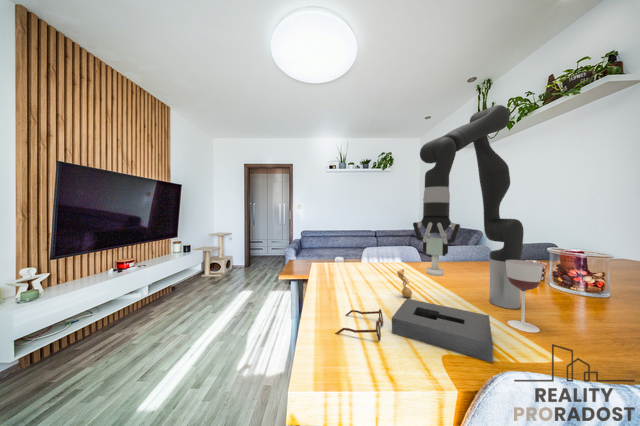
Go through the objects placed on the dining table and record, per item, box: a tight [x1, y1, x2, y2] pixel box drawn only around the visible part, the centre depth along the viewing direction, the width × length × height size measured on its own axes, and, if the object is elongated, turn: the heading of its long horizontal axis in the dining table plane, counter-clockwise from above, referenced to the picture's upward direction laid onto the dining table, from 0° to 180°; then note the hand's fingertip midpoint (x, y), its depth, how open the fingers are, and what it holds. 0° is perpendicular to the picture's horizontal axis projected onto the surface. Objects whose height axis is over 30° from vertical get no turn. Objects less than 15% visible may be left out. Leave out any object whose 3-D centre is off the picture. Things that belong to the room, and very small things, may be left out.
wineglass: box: [506, 259, 544, 333], centre depth 71 cm, size 8×9×20 cm
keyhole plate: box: [391, 298, 494, 364], centre depth 68 cm, size 24×18×4 cm
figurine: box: [396, 268, 413, 298], centre depth 95 cm, size 8×6×12 cm
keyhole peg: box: [425, 236, 445, 277], centre depth 73 cm, size 5×5×12 cm
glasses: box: [334, 308, 384, 341], centre depth 71 cm, size 13×13×5 cm
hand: (435, 254), depth 73 cm, fingers closed on keyhole peg, 4 cm apart
